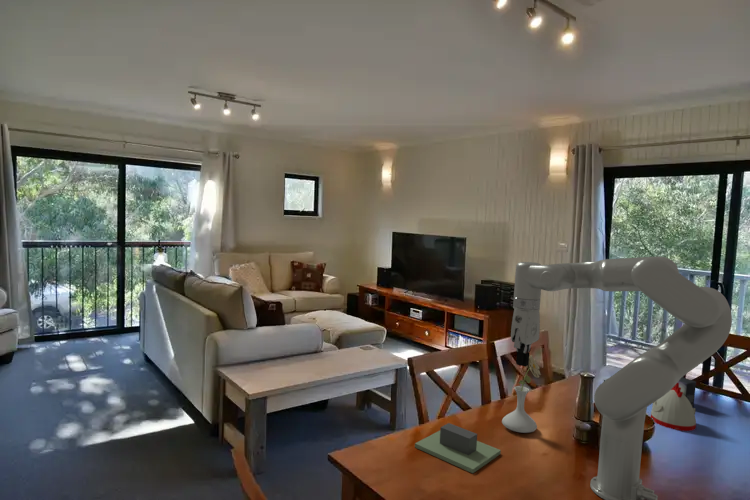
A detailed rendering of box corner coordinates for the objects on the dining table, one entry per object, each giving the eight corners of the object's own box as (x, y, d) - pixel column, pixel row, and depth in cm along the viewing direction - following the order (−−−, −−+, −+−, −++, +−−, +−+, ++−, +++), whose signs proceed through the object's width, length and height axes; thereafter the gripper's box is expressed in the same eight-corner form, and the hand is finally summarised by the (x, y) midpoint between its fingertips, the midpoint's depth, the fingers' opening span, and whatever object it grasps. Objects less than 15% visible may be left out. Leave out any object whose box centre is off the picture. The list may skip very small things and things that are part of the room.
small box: (658, 399, 195) (660, 374, 194) (668, 397, 198) (670, 373, 197) (684, 409, 185) (686, 383, 185) (694, 407, 188) (697, 381, 187)
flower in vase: (522, 439, 152) (528, 363, 150) (494, 425, 161) (499, 353, 159) (546, 430, 159) (552, 357, 158) (518, 417, 169) (523, 349, 167)
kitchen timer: (682, 416, 178) (685, 377, 177) (704, 432, 164) (708, 390, 163) (643, 413, 179) (647, 374, 178) (662, 428, 165) (665, 387, 164)
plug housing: (476, 450, 140) (477, 433, 140) (468, 455, 137) (469, 438, 136) (447, 438, 147) (448, 423, 146) (439, 443, 143) (440, 427, 143)
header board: (500, 454, 141) (501, 437, 141) (472, 473, 129) (474, 455, 129) (444, 431, 154) (445, 416, 154) (414, 447, 143) (415, 430, 142)
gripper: (527, 308, 131) (523, 373, 132) (549, 303, 142) (544, 363, 143) (502, 304, 136) (498, 366, 137) (525, 299, 147) (521, 357, 148)
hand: (522, 364), depth 140 cm, fingers closed
